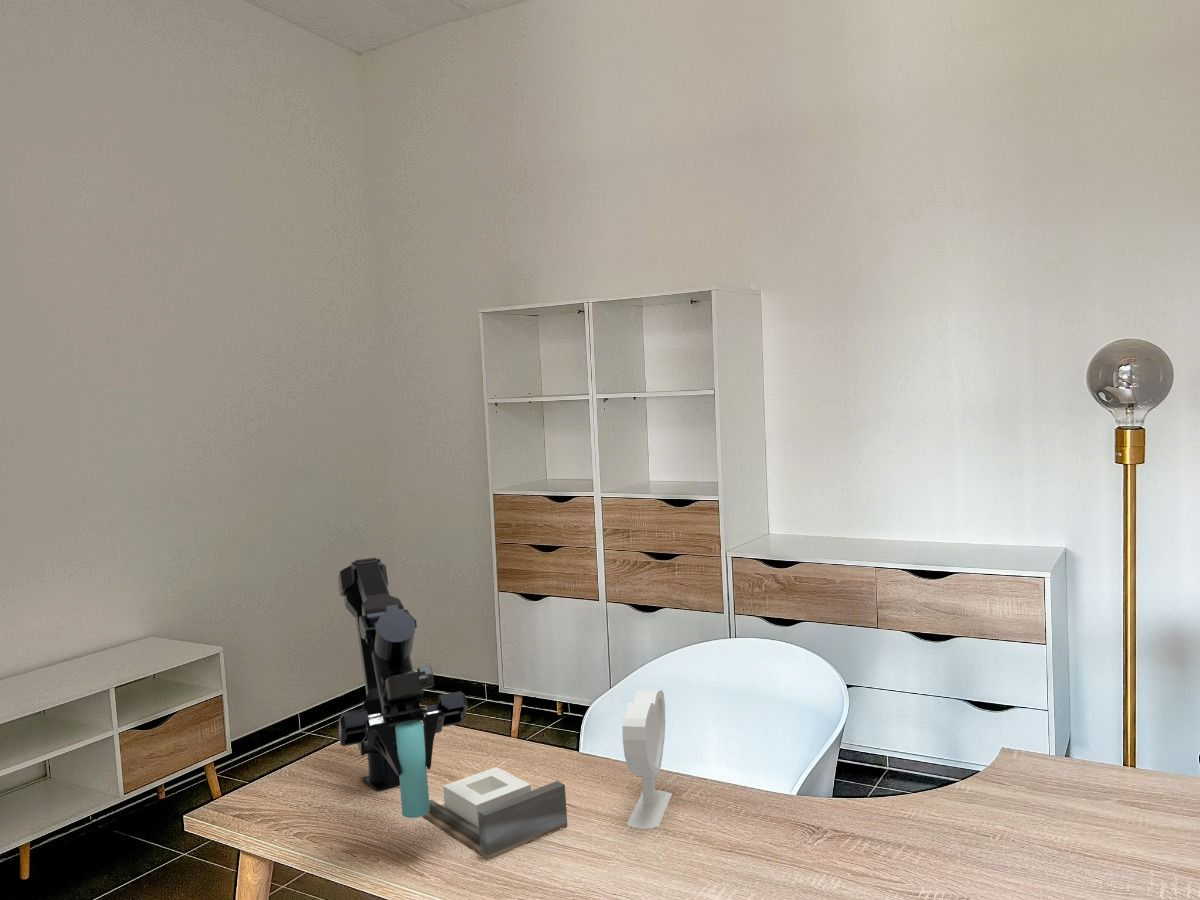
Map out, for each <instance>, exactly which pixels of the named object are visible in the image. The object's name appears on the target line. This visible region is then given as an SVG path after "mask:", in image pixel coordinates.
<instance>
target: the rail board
mask: <svg viewBox="0 0 1200 900" xmlns="http://www.w3.org/2000/svg"><path fill="white" fill-rule="evenodd" d="M566 797H567V796H566V784H564V783H563V782H560V781H558V780H556V781H554V782H551V783H548V784H545V785H542V786H540V787H537V788H535V789H533V790H532V789H531V791H529V792H527V793H524V794H522V795H519V796H516V797H514V798H511V799H509V800H506V801H503V802H501V803H498V804H496V805H493V806H490V807H488V808H485V809H483V810H480V811H478V822H479V829H478V828H476V827H475V826H473V825H472V824H470V823H468V822H467V821H465V820H464V819H462V818H460V817H459V816H457V815H456V814H454V813H452V812H451V811H449V810H448V809H446V808H445V803H443V804H440V803H439V802H436V801H435V800H433V799H429V805H430V811H429V812H428V813H427V814H426V815H424V816H422V817H423V818H424V819H426V820H427V821H429V822H430V823H432V824H434V825H435V826H436V827H438V828H440V829H441V830H443V831H444V832H446V833H447V834H449V835H450V836H452V837H453V838H455V839H457V840H458V841H459V842H461V844H462V843H463V844H464V845H466V846H467V847H468V848H470V849H471V850H473V851H474V852H476V853H478V854H479V855H480V856H482V857H484V859H487V860H491V859H493V858H496V857H498V856H500V855H503V854H505V853H507V852H510V851H512V850H515V849H516V847H517V848H519V847H522V846H524V845H526V844H528V842H529V843H531V842H533V841H532V840H534V841H535V839H536V840H537V838H538V839H540V838H539V837H541V838H542V836H543V837H545V836H547V835H546V834H548V833H550V832H552V833H554V832H553V831H555V830H557V831H559V830H561V829H560V828H562V829H564V828H566V827H568V826H567V825H568V813H567V798H566ZM565 826H566V827H565ZM563 827H564V828H563ZM558 829H559V830H558ZM555 832H556V831H555ZM550 834H551V833H550ZM544 835H545V836H544ZM548 835H549V834H548ZM530 841H531V842H530ZM525 843H526V844H525ZM523 844H524V845H523ZM521 845H522V846H521ZM514 848H515V849H514Z"/></svg>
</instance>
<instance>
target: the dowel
mask: <svg viewBox="0 0 1200 900" xmlns="http://www.w3.org/2000/svg"><path fill="white" fill-rule="evenodd" d="M423 725H424V723H423V721H416V720H412V721H405V722H402V723H399V724H397V725H396V726H395V730H396V743H397V755H398V760H399V764H400V770H401V775H400V776H399V780H400V784H399V789H400V791H399V792H400V802H401V813H402V814H401V815H402V816H403V817H405V818H408V819H414V818H420V817H423V816H424V815H426V814H427V813H428V812H429V811H430V805H429V800H430V794H429V784H428V783H429V782H428V769H427V766H426V754H425V741H424V728H423Z"/></svg>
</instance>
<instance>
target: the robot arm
mask: <svg viewBox="0 0 1200 900" xmlns="http://www.w3.org/2000/svg"><path fill="white" fill-rule="evenodd" d="M387 571H388V570H387V565H386V564H384V563H382V562H381V558H377V557H370V558H369V557H368V558H362V559H356V560H354V561H352V562H350V565H349V566H347V567H345V568H343V569H342V570H340V571H339V573H338V577H337V578H338V581H337V582H338V591H339V596H340V597H343V601H344V607H345V609H346V610H347V611H348V612H349V613H350V614H351V615H352V616H353V618H354V619H355V624H356V630H357V638H358V644H359V653H360V658H361V666H362V671H363V680H364V686H365V694H366V695H365V696H366V697H365V700H364V702H363V705H362V707H361V709H356V710H351V711H350V710H349V711H346V712H342V713H341V715H340V716H339V717H338V720H339V721H338V736H339V737H338V738H339V742H340V746H343V747H347V746H352V745H356V744H357V747H358V750H359V753H360V756H365V755H367V763H368V764H367V765H368V775H365V776H363V777H361V781H362V782H363V783H364V784H366V785H368V786H369V787H371V788H373V790H376V791H382V790H385V789H387V788H390V787H394V786H396V785H400V784H399V783H400V780H399V776H400V775H401V770H400V764H399V760H398V755H397V743H396V730H395V726H396V725H397V724H399V723H402V722H405V721H412V720H416V721H421V722H423V728H424V741H425V754H426V767H427V771H428V770H431V768H432V758H433V749H434V740H435V736H436V734H439V733H441V732H442V730H443V727H444V728H445V727H449V726H451V727H452V726H455V725H460V724H463V722H465V720H466V719H465V718H466V716H467V711H468V708H469V704H468V699H467V696H466V695H465V694H464V693H463V692H462V691H455V692H449V693H445V694H439V695H438V697H437V702H436V704H432V705H428V706H427V705H426V706H422V705H421V703H423V701H424V690H427V689H431V688H433V687H434V686H435V679H434V673H433V669H432V665H431V664H428V665H422V666H421V665H420V666H419V667H418V668H417V671H416V672H415V671H414V668H413V662H412V659H411V658H412V657H411V653H412V651H413V646H414V639H415V632H416V628H418V626H417V619H415V618H414V617H413V616H412V614H410V612H409V609H405V607H404V605H403V603H402V601H401V599H400V598H398V597H395V596H392V595H391V594H390V592H389V589H388V586H389V578H388V572H387Z"/></svg>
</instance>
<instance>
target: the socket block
mask: <svg viewBox="0 0 1200 900" xmlns="http://www.w3.org/2000/svg"><path fill="white" fill-rule="evenodd" d="M531 786H532V785H531V783H528V782H527V781H525V780H522V779H520V777H517V776H515V775H513V774H511V773H509V772H507V771H505V770H504V769H501V768H499V767H497V766H495V767H492V768H490V769H487V770H483V771H481V772H478V773H475V774H472V775H469V776H467V777H464V778H462V779H458V780H456V781H453V782H450V783H447V784H445V785H443V799H444V800H443V801H444V804H445V808H446V809H448V810H449V811H451V812H452V813H454V814H456V815H457V816H459V817H460V818H462V819H464V820H465V821H467V822H468V823H470V824H472V825H473V826H475V827H476V828H478V829H479V822H478V811H480V810H483V809H485V808H488V807H490V806H493V805H496V804H498V803H501V802H503V801H506V800H509V799H511V798H514V797H516V796H519V795H522V794H524V793H527V792H529V791H532V787H531Z"/></svg>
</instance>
